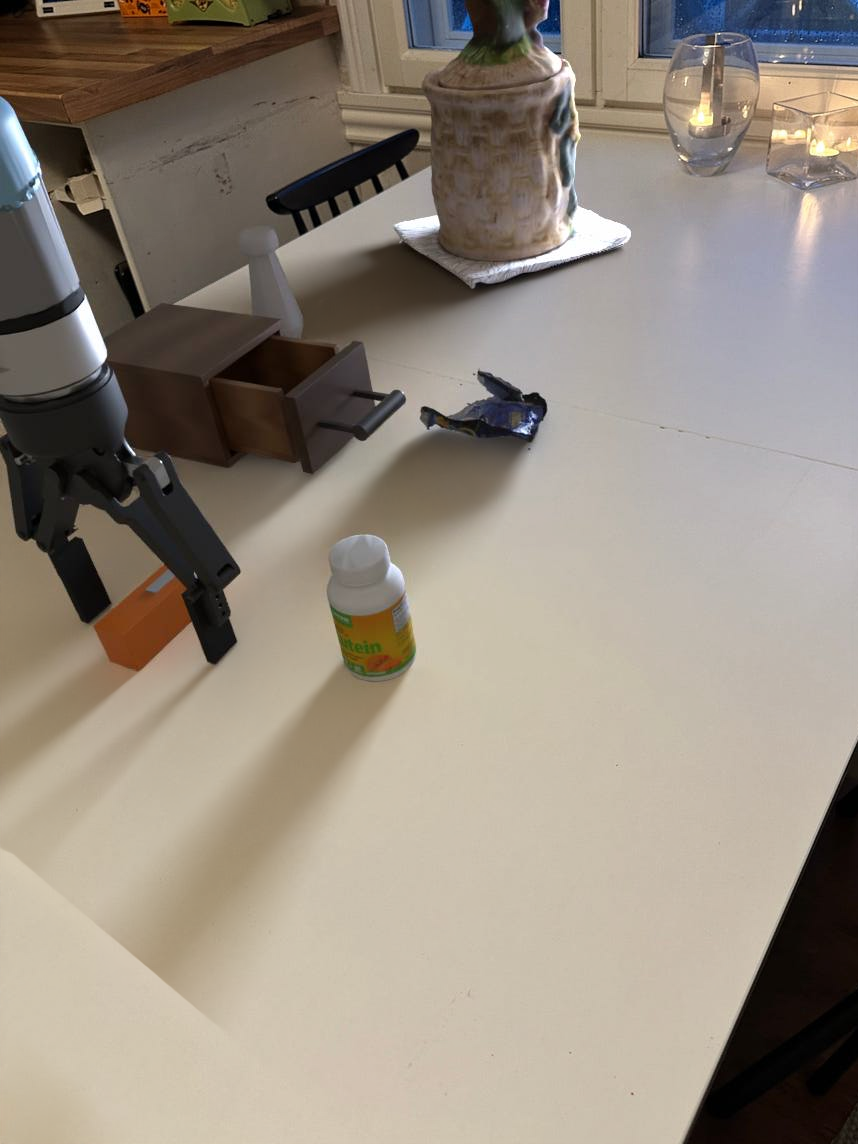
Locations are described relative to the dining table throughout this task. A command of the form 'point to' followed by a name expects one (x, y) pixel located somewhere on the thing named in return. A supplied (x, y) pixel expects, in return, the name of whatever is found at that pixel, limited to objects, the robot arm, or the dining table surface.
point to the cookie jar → (505, 154)
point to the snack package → (494, 412)
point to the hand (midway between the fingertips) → (157, 631)
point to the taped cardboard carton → (144, 620)
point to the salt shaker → (269, 279)
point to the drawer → (299, 400)
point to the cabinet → (181, 376)
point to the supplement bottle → (370, 609)
